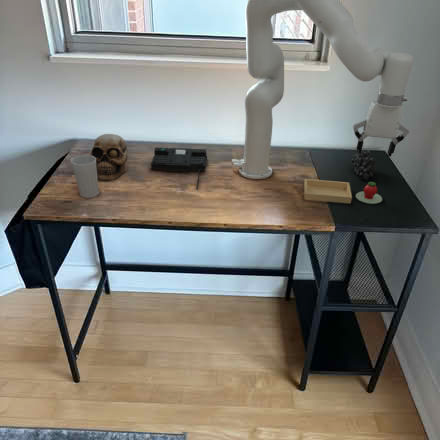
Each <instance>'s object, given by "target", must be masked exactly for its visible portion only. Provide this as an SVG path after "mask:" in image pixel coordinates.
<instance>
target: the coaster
mask: <svg viewBox="0 0 440 440" xmlns="http://www.w3.org/2000/svg"><path fill="white" fill-rule="evenodd" d="M364 195H365V194H364V190H363V191H358V192H357V193H356V194H355V198H356V199H357V200H358V201H360V202H363V203H365V204H379V203H381V202H382V201H383V197H382V196H381V195H380V194H378V193H376V194H375V195H374V196H373V199H366V198H365V197H364Z"/></svg>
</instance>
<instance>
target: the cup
mask: <svg viewBox="0 0 440 440" xmlns="http://www.w3.org/2000/svg"><path fill="white" fill-rule="evenodd" d="M70 163H71V167H72V170H73V173H74V177H75V181H76V184H77V186H78V188H77V189H78V191H79V196H80V197H82V198H84V199H85V198H87V199H89V198H90V199H91V198H94V197H97V196H98V195H99V193H100V191H99V182H98V180H99V179H98V178H97V168H96V158H95V157H94V156H91V154H81V155H76V156H73V157H72V158H71V159H70Z"/></svg>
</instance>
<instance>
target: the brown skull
mask: <svg viewBox="0 0 440 440" xmlns="http://www.w3.org/2000/svg"><path fill="white" fill-rule="evenodd" d="M90 155H91V156H94V157H95V158H96V168H97V180H100V181H105V182H107V181H113V180H115V179H117V178H119V177H121V176H122V175H123V174H125V172H126V163H127V162H128V156H129V155H128V145H127V143H126V140H125V139H124V138H123V137H122V136H120V135H119V134H114V133H103V134H101V135H99V136H97V137H96V138H95V140H94V143H93V146H92V148H91V151H90Z"/></svg>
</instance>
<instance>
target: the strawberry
mask: <svg viewBox="0 0 440 440" xmlns="http://www.w3.org/2000/svg"><path fill="white" fill-rule="evenodd" d="M376 185H377V183H376V182H375V181H368V183H367V184H366V185H365V186H364V187H363V191H364V194H365V195H364V197H365V198H366V199H373V196H374V195H375V194H378V193H377V192H378V187H377V186H376Z"/></svg>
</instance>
